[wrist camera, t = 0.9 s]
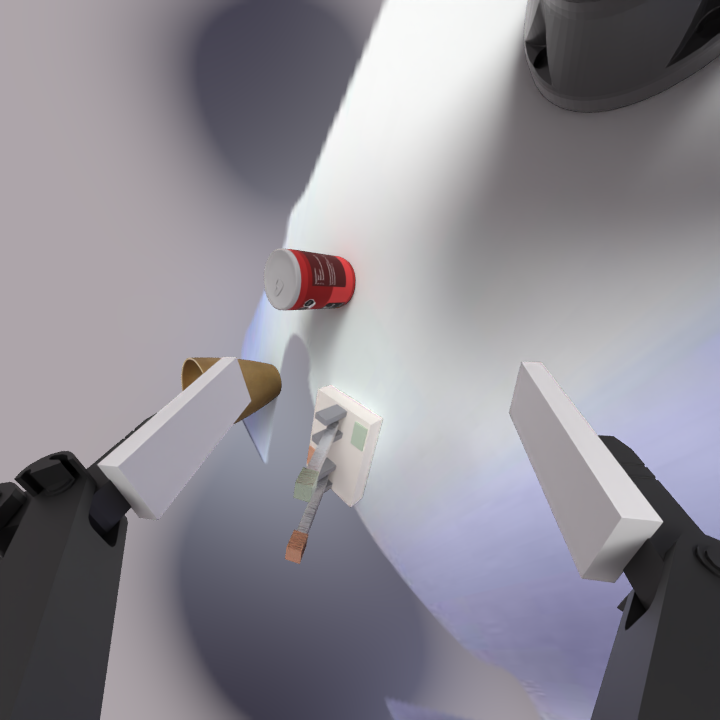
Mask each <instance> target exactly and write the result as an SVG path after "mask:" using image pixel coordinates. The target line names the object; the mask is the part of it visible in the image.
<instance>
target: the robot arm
mask: <svg viewBox="0 0 720 720" xmlns="http://www.w3.org/2000/svg"><path fill="white" fill-rule="evenodd" d="M524 46H525V54H526V59H527V63H528V66H529V69H530V72H531V74H532V77H533V80H534V82H535V84H536V86H537V88H538V89H539V91H540V92H541V93H542V95H543V96H544V97H545V98H546V99H547V100H549V101H550V102H551V103H553V104H555V105H557V106H559V107H561V108H564V109H567V110H571V111H578V112H599V111H606V110H611V109H616V108H620V107H624V106H627V105H630V104H633V103H636V102H639V101H641V100H644V99H646V98H649V97H651V96H653V95H655V94H658V93H660V92H662V91H664V90H666V89H668V88H670V87H671V86H673V85H675V84H677V83H679V82H680V81H682V80H684V79H685V78H687V77H689V76H690V75H692V74H694V73H695V72H696V71H698V70H699V69H701V68H702V67H704V66H705V65H707V64H708V63H710V62H711V61H712V60H714V59H715V58H716V57H718V56H719V55H720V0H528V2H527V9H526V16H525V25H524ZM250 402H251V398H250V395H249V392H248V389H247V386H246V383H245V381H244V378H243V375H242V372H241V369H240V366H239V363H238V360H237V357H222V358H221V359H220V360H219V361H218V362H216V363H215V364H214V365H213V366H212V367H211V368H209V369H208V370H207V371H206V372H205V373H204V374H202V375H201V376H200V377H199V378H198V379H197V380H195V381H194V382H193V383H192V384H191V385H190V386H188V387H187V388H186V389H185V390H184V391H183V392H181V393H180V394H179V395H178V396H177V397H176V398H174V399H173V400H172V401H171V402H170V403H169V404H167V405H166V406H165V407H164V408H163V409H161V410H160V411H159V412H158V413H156V414H154V415H153V416H151V417H149V418H147V419H146V420H145V421H143V422H142V423H141V424H140V425H139V426H137V427H136V428H135V430H134V431H131V432H130V433H129V434H128V435H127V436H126V437H125V439H122V440H121V441H120V442H119V443H117V444H116V445H115V446H114V447H112V448H111V449H110V450H109V451H108V452H107V453H105V454H104V455H103V456H102V457H101V458H100V459H98V460H97V461H96V462H95V463H94V464H92V465H91V466H90V467H89V468H87V469H85V467H84V466H83V465H82V464H81V463H80V462H79V460H78V459H77V458H76V457H75V455H74V454H73V453H71V452H69V451H61V452H58V453H54V454H50V455H48V456H46V457H44V458H41V459H39V460H37V461H36V462H34V463H32V464H30V465H29V466H28V467H26V468H25V469H24V470H23V471H21V472H20V473H19V474H18V476H17V477H16V478H15V480H16V481H17V482H18V483H19V484H20V485H21V486H22V487H23V488H24V489H25V490H26V491H25V492H23V491H22V490H21V489H20V488H19V487H18V486H17V485H16V484H15V483H12V482H8V483H1V484H0V720H100V715H101V708H102V700H103V694H104V687H105V680H106V673H107V666H108V658H109V651H110V644H111V637H112V630H113V623H114V615H115V609H116V602H117V595H118V588H119V581H120V574H121V567H122V559H123V552H124V546H125V539H126V531H127V525H128V521H127V518H126V516H125V513H126V512H127V511H128V510H129V509H130V508H132V509H133V510H134V511H135V513H136V514H137V515H138V516H139V518H146V519H154V520H158V519H159V518H160V517H161V515H162V514H163V513H164V512H165V510H166V509H167V508H168V507H169V505H170V504H171V503H172V501H173V500H174V499H175V498H176V496H177V495H178V494H179V492H180V491H181V490H182V489H183V487H184V486H185V485H186V483H187V482H188V481H189V480H190V478H191V477H192V476H193V475H194V473H195V472H196V471H197V469H198V468H199V467H200V466H201V464H202V463H203V462H204V461H205V459H206V458H207V457H208V456H209V454H210V453H211V452H212V450H213V449H214V448H215V447H216V445H217V444H218V443H219V442H220V440H221V439H222V438H223V436H224V435H225V434H226V433H227V431H228V430H229V429H230V427H231V426H232V425H233V424H234V422H235V421H236V420H237V419H238V417H239V416H240V415H241V413H242V412H243V411H244V410H245V408H246V407H247V406H248V404H249V403H250ZM509 414H510V416H511V419H512V421H513V423H514V425H515V428H516V430H517V432H518V435H519V437H520V439H521V441H522V444H523V446H524V448H525V451H526V453H527V455H528V457H529V460H530V462H531V464H532V467H533V469H534V471H535V473H536V476H537V478H538V480H539V483H540V485H541V487H542V489H543V492H544V494H545V496H546V499H547V501H548V503H549V505H550V508H551V510H552V512H553V515H554V517H555V519H556V521H557V524H558V526H559V528H560V531H561V533H562V535H563V537H564V540H565V542H566V544H567V547H568V549H569V551H570V553H571V556H572V558H573V560H574V563H575V565H576V567H577V570H578V572H579V574H580V576H581V578H582V579H590V580H597V581H604V582H611V583H615V582H616V580H617V579H618V578H619V577H620V575H621V574H622V573H623V572H624V573H625V575H626V576H627V578H628V580H629V582H630V584H631V585H632V587H633V590H632V591H631V592H630V593H629V594H628V595H627V596H626V597H625V598H624V600H623V601H622V602H621V603H620V604H619V606H618V607H617V608H618V609H620V610H621V611H622V612H623V615H622V618H621V621H620V625H619V628H618V631H617V635H616V638H615V641H614V644H613V648H612V651H611V654H610V658H609V661H608V664H607V667H606V671H605V674H604V677H603V681H602V684H601V687H600V691H599V694H598V697H597V700H596V704H595V707H594V710H593V714H592V717H591V720H720V540H717V539H715V538H712V537H710V536H707V535H705V534H704V533H703V532H702V531H701V530H700V529H699V527H698V526H697V525H696V524H695V523H694V521H693V520H692V519H691V518H690V517H689V516H688V514H687V513H686V512H685V511H684V510H683V509H682V507H681V506H680V505H679V504H678V503H677V502H676V500H675V499H674V498H673V497H672V496H671V495H670V493H669V492H668V491H667V490H666V489H665V488H664V486H663V485H662V484H661V483H660V482H659V481H658V480H656V479H655V476H654V475H653V474H652V472H651V471H650V470H649V469H648V468H647V467H645V466H644V465H645V464H644V463H643V462H642V461H641V460H640V458H639V457H638V456H637V455H636V454H635V453H634V451H633V450H632V449H631V448H629V447H628V446H626V445H625V444H624V443H622V442H621V441H619V440H618V439H617V438H615V437H614V436H600V435H597V434H596V433H595V431H594V430H593V429H592V428H591V426H590V425H589V424H588V422H587V421H586V420H585V418H584V417H583V416H582V414H581V413H580V412H579V410H578V409H577V408H576V407H575V405H574V404H573V403H572V401H571V400H570V399H569V397H568V396H567V395H566V393H565V392H564V391H563V390H562V388H561V387H560V386H559V384H558V383H557V382H556V380H555V379H554V378H553V376H552V375H551V374H550V372H549V371H548V370H547V369H546V367H545V366H544V365H543V363H542V362H521V366H520V370H519V374H518V378H517V382H516V386H515V390H514V394H513V398H512V402H511V406H510V411H509Z"/></svg>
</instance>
